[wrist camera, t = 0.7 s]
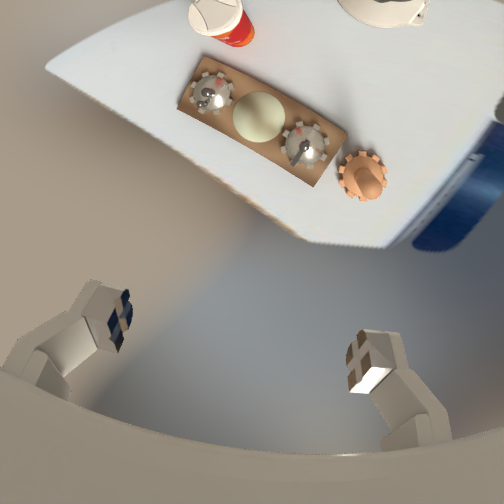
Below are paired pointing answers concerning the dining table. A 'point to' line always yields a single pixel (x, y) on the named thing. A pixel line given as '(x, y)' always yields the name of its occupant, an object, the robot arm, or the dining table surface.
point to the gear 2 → (305, 145)
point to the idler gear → (363, 176)
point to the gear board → (262, 119)
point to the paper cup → (221, 21)
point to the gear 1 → (212, 93)
